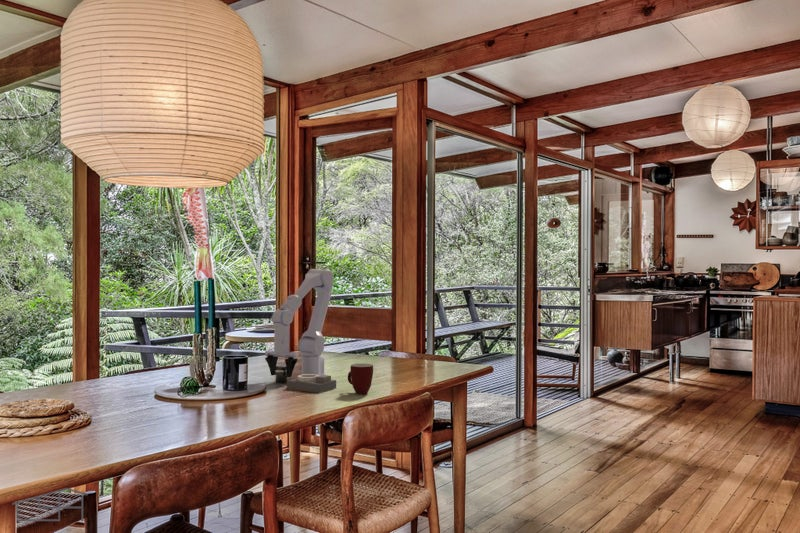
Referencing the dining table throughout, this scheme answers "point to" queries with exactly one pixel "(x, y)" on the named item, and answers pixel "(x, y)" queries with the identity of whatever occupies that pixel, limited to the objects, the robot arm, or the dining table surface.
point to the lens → (281, 374)
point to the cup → (193, 366)
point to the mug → (361, 377)
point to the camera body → (312, 383)
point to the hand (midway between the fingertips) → (281, 376)
